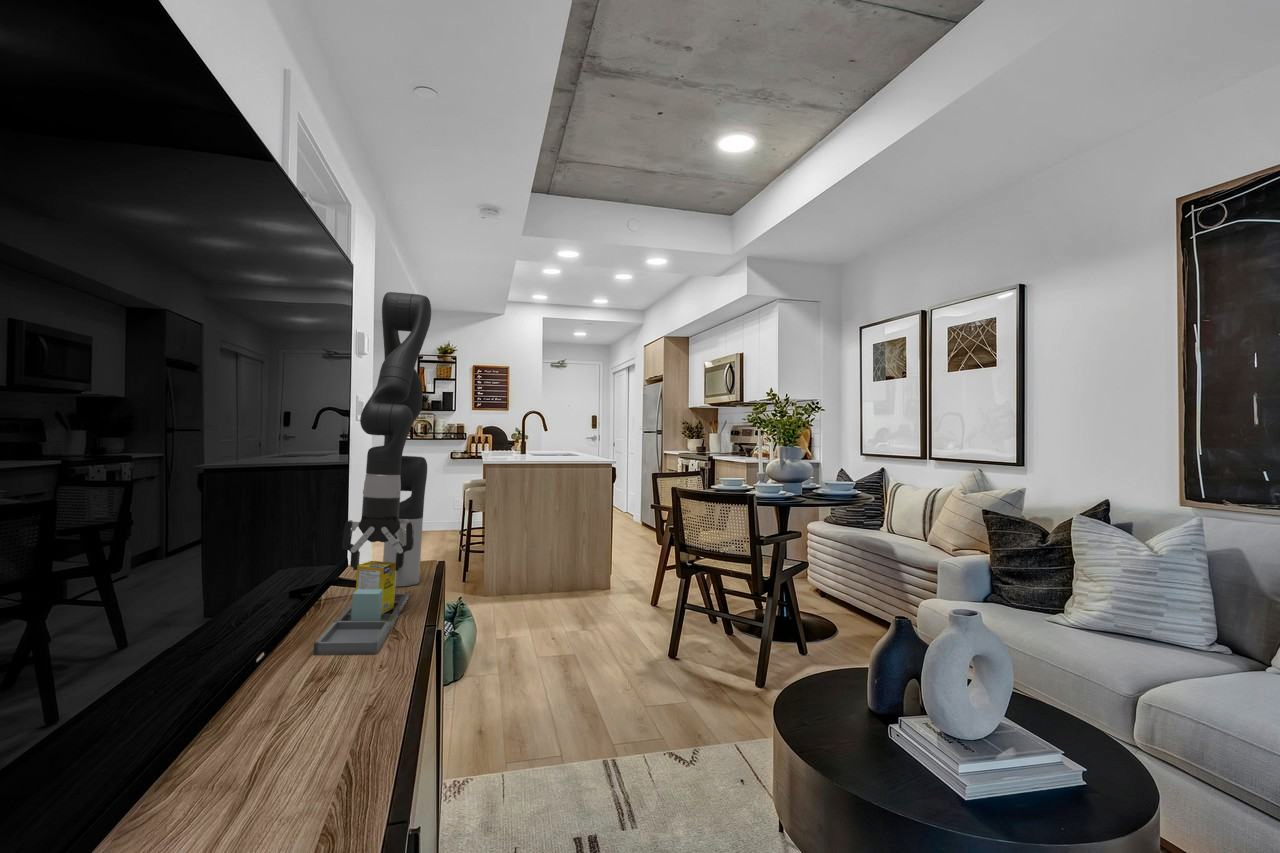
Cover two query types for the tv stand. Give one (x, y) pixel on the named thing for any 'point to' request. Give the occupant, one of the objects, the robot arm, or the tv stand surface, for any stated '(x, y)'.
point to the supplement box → (378, 581)
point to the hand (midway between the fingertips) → (376, 569)
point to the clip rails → (390, 617)
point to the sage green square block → (367, 605)
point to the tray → (352, 638)
